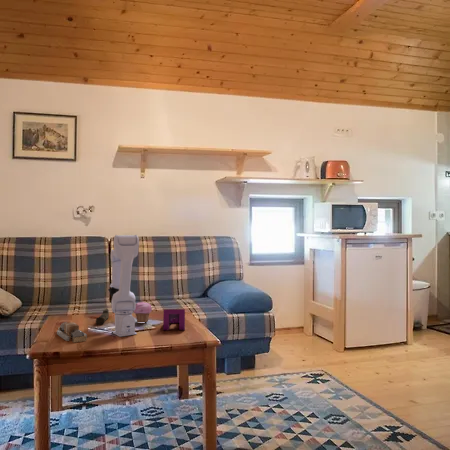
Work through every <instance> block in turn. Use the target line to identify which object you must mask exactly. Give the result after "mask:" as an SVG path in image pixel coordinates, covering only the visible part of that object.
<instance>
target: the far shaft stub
mask: <svg viewBox="0 0 450 450" xmlns="http://www.w3.org/2000/svg"><path fill="white" fill-rule="evenodd" d="M64 323H67V321H64V322H62V323H61V324H60V326H57V328H58V329H57V331H59V330H60V331H62V332H63V333H64Z"/></svg>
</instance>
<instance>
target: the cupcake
mask: <svg viewBox="0 0 450 450" xmlns="http://www.w3.org/2000/svg"><path fill="white" fill-rule="evenodd" d="M152 310H153V309H152V305H151V303H150V302H149V303H148V302H143V301H140V302H136V308H135V310H134V311H133V313H134V314H135V318H136V322H147V323H148V322H149V316H150V313H152Z"/></svg>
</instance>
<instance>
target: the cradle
mask: <svg viewBox="0 0 450 450" xmlns="http://www.w3.org/2000/svg"><path fill="white" fill-rule="evenodd" d="M80 331H81V332H83V331H82V330H80ZM83 333H84V335H85V336H86V339H87V338H88V334H87V333H86V332H83ZM56 335H58V336H59V337H60V338H61V339H63V340H64V341H66V342H67V341H70V339H69V336H67V335H66V334H64V332H62V331H60V330H59V331H58V330H56Z"/></svg>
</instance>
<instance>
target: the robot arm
mask: <svg viewBox="0 0 450 450" xmlns="http://www.w3.org/2000/svg"><path fill="white" fill-rule="evenodd" d="M139 245H140V239H139V236H138V234H134V235H133V234H131V235H129V234H128V235H127V234H123V235H119V234H118V235H117V234H115V235H114V237H113V248H114V249H111V251H110V261H111V283H110V285H109V287H110V288H108V292H109V294H110V296H111V301H110V302H111V311H112V313H114V330H112V331H111V333H112V332H113V333H112V334H114V335H116V336H118V337H121V338H122V337H127V336H133V335H134V336H135V335H138V333H137V332H136V319H135V317H134V316H133V313H134V310H135V308H136V304H137V302H136V299H137V298H136V296H135V293H134V292H133V291H131V282H132V281H131V280H132V269H133V262H134V259H135V258H136V257H138V254H139V247H140V246H139Z"/></svg>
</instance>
